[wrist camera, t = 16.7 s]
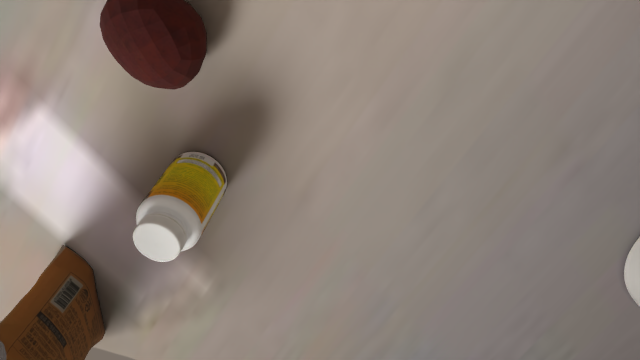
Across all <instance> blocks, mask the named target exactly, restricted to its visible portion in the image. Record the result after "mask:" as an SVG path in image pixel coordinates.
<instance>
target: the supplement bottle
mask: <svg viewBox="0 0 640 360" xmlns="http://www.w3.org/2000/svg"><path fill="white" fill-rule="evenodd" d="M226 187H227V178H226V174H225V172H224V170H223V168H222V166H221V165H220V164H219V163H218V162H217V161H216V160H215V159H213V158H212V157H210V156H208V155H206V154H204V153H200V152H186V153H183V154H181V155H179V156H178V157H176V158H175V159H174V160H173V161H172V163H171V164H170V165H169V167H168V168H167V169H166V171H165V172H164V173H163V175H162V176H161V177H160V179H159V180H158V181H157V183H156V184H155V186H154V187H153V188H152V190H151V191H150V192H149V194H148V195H147V196H146V198H145V199H144V200H143V201H142V203H141V204H140V206H139V208H138V210H137V213H136V223H137V227H136V228H135V230H134V233H133V242H134V244H135V246H136V248H137V249H138V250H139V252H141V253H142V254H143V255H144V256H146V257H147V258H149V259H151V260H154V261H158V262H168V261H171V260H173V259H175V258H176V257H177V256H178V255H179V253H180V252H181V251H185V250H187V249H190V248H191V247H193V246H194V245H195V244H196V243H197V242H198V240H199V239H200V237H201V235H202V233H203V231H204V230H205V228H206V226H207V224H208V222H209V220H210V219H211V217H212V215H213V213H214V211H215V209H216V208H217V206H218V204H219V202H220V200H221V198H222V197H223V195H224V193H225V190H226Z"/></svg>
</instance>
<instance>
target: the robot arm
mask: <svg viewBox="0 0 640 360" xmlns="http://www.w3.org/2000/svg"><path fill="white" fill-rule="evenodd" d="M624 277H625V283H626V287H627V289H628V292H629V293H630V295H631V297H632V298H633V299H634V301H635V302H636V303H637V304H638V305H639V306H640V237H639V238H638V240H637V241H636V242H635V244H634V245H633V247H632V249H631V250H630V252H629V254H628V257H627V260H626V264H625V269H624ZM0 360H6V350H5V347H4V344H3V343H2V342H1V341H0Z"/></svg>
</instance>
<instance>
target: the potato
mask: <svg viewBox="0 0 640 360" xmlns="http://www.w3.org/2000/svg"><path fill="white" fill-rule="evenodd" d="M100 28H101V32H102V36H103V40H104V42H105V44H106V45H107V47H108V49H109V51H110V52H111V54H112V55H113V56H114V58H115V59H116V61H117V62H118V63H119V64H120V65H121V66H122V67H123V68H124V69H125V70H126V71H127V72H128V73H129V74H130V75H131V76H132V77H134V78H135V79H137V80H139V81H141V82H142V83H144V84H146V85H149V86H152V87H157V88H165V89H177V88H181V87H184V86H185V85H186V84H187V83H189V82H190V81H191V80H192V79H193V78H194V77H195V76H196V75H197V74H198V73H199V71H200V68H201V65H202V63H203V60H204V58H205V55H206V40H207V33H206V30H205V27H204V24H203V21H202V18H201V17H200V16H199V14H198V13H197V12H196V11H195V10H194V8H193V7H192V6H191V5H190V4H188V3H187V2H185V1H184V0H107V2H106V4H105V6H104V8H103V10H102V12H101V17H100Z"/></svg>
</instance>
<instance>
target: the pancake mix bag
mask: <svg viewBox="0 0 640 360" xmlns="http://www.w3.org/2000/svg"><path fill="white" fill-rule="evenodd" d="M104 334H105V328H104V323H103V318H102V314H101V309H100V304H99V300H98V296H97V292H96V287H95V280H94V274H93V269H92V268H91V267H90V266H89V265H88V263H87V262H86V261H85V260H84V259H83V258H81V257H80V256H79V255H78V254H76V253H75V252H74V251H72V250H70V249H69V248H67V247H66V246H64V245H62V247H61V249H60V250H59V252H58V254H57V255H56V257H55V258H54V259H53V260H52V262H51V263H50V264H49V265H48V267H47V268H46V269H45V270H44V272H43V273H42V274H41V276H40V277H39V279H38V281H37V282H36V284H35V285H34V286H33V287H32V289H31V290H30V291H29V292H28V293H27V294H26V295H25V296H24V297H23V298H22V299H21V300H20V301H19V303H18V304H17V305H16V306H15V307H14V309H13V310H12V311H11V312H10V313H9V314H8V315H7V316H6V317H5V318H4V319H3V320H2V322H1V323H0V341H1V342H2V343H3V344H4V347H5V350H6V360H84V359H85V357H86V355H87V354H88V352H89V350H90V349H91V348H92V347H93V346H94V345H95V344H96V343H98V342H99V341H100V340H102V339H103V336H104Z"/></svg>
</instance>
